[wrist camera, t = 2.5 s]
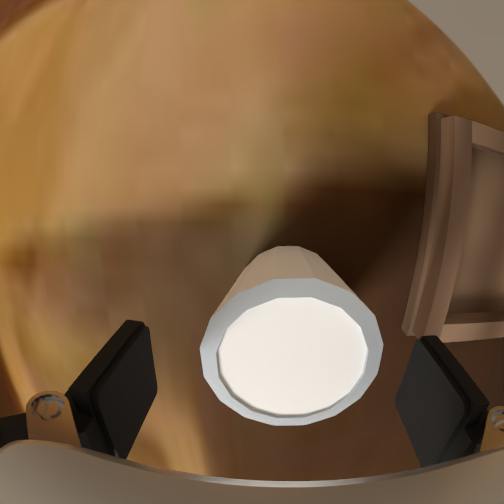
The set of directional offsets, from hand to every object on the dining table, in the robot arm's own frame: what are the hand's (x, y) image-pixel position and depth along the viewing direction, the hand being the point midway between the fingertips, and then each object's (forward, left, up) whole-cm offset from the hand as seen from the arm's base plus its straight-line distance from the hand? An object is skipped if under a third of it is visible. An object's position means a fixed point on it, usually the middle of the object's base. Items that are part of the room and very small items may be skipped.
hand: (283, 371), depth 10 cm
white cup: (0, 0, -8) cm, 8 cm away
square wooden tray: (-14, -4, -8) cm, 17 cm away
